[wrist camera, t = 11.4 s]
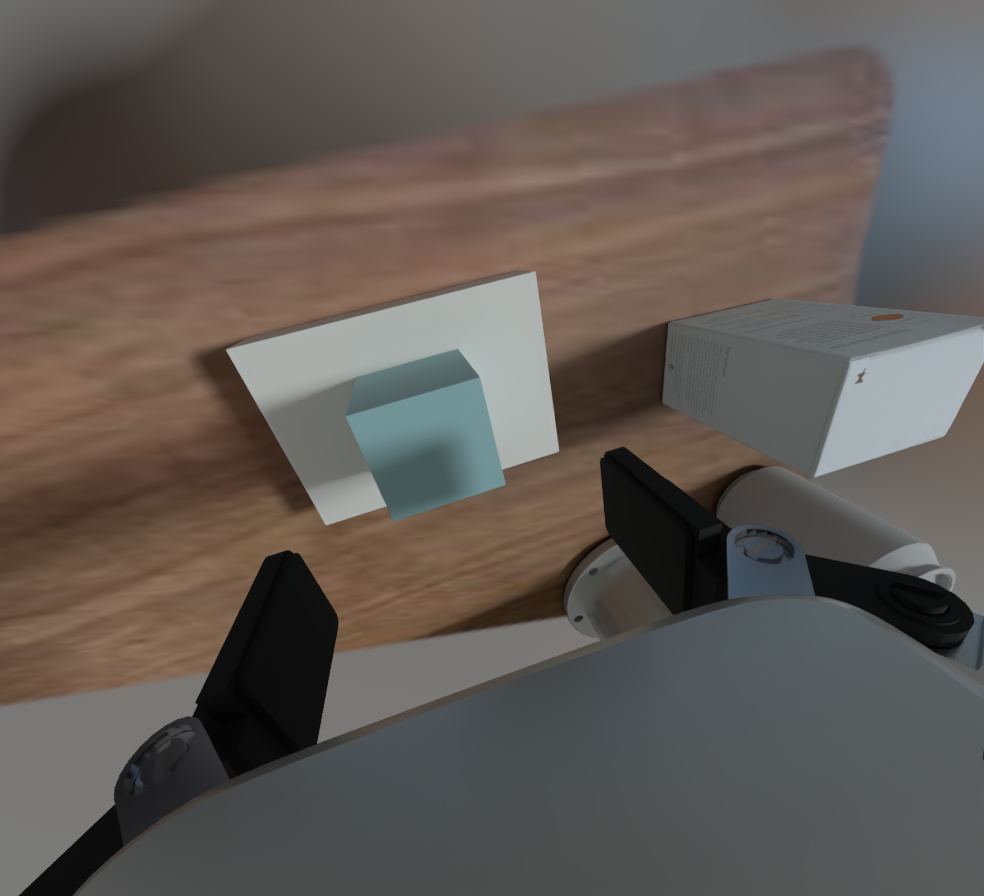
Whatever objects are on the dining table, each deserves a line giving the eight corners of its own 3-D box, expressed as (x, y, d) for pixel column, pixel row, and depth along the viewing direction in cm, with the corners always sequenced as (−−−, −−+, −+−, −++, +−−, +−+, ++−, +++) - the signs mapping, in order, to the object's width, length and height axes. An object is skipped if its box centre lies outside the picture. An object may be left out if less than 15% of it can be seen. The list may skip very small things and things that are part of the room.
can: (695, 533, 33) (837, 660, 22) (730, 459, 30) (914, 567, 19) (758, 531, 35) (913, 645, 25) (797, 461, 32) (995, 559, 21)
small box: (658, 402, 25) (808, 483, 16) (665, 319, 23) (849, 359, 14) (757, 378, 27) (948, 440, 17) (775, 296, 24) (1012, 318, 15)
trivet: (519, 269, 19) (535, 271, 17) (544, 434, 24) (559, 451, 22) (245, 338, 18) (225, 349, 15) (332, 499, 23) (326, 525, 20)
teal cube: (458, 348, 18) (479, 377, 14) (480, 436, 20) (505, 484, 16) (356, 377, 17) (345, 416, 13) (392, 464, 20) (393, 521, 15)
